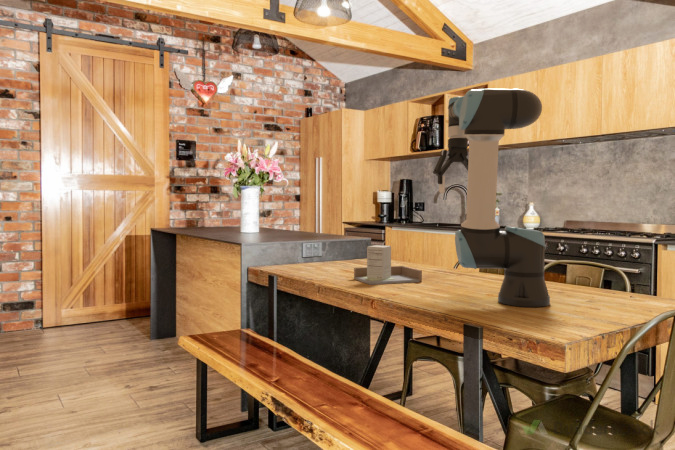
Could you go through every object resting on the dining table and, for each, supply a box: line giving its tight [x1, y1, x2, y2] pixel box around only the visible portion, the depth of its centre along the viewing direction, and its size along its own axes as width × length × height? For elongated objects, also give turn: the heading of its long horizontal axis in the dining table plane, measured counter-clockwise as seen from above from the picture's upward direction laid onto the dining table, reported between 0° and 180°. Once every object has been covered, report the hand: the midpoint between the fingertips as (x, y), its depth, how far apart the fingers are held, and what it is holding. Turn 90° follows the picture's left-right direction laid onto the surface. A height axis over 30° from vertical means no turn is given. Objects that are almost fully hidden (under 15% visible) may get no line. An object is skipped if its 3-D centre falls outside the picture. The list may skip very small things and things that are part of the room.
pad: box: [362, 277, 395, 281], centre depth 210 cm, size 10×10×1 cm
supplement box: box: [366, 245, 392, 280], centre depth 209 cm, size 7×7×13 cm
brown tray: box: [353, 265, 423, 286], centre depth 211 cm, size 16×22×4 cm
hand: (457, 193), depth 207 cm, fingers open, 13 cm apart
